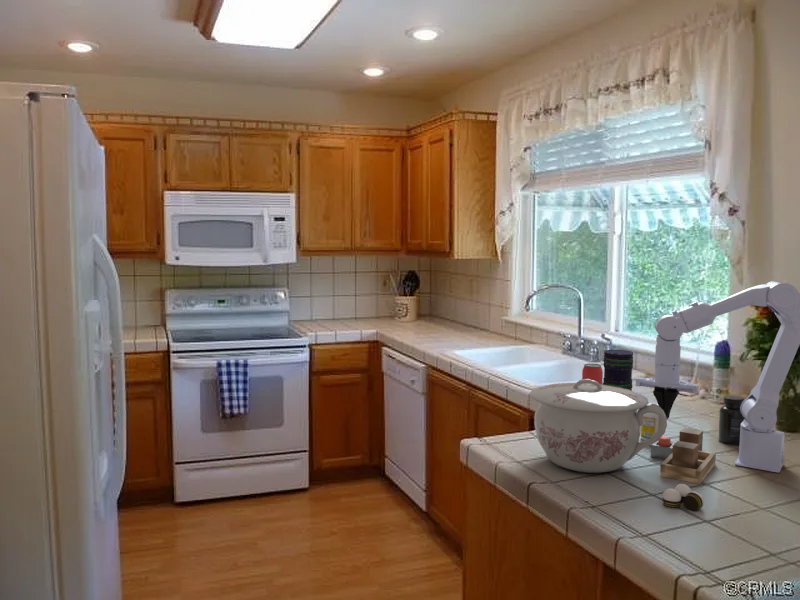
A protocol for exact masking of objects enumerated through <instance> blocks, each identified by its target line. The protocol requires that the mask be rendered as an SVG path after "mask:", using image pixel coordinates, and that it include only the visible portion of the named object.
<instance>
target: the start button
mask: <svg viewBox="0 0 800 600" xmlns="http://www.w3.org/2000/svg"><path fill="white" fill-rule="evenodd" d="M670 442H671V438H670V437H668V436H662V437H660V438H659V440H658V445H661V446H666V447H670Z"/></svg>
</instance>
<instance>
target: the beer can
mask: <svg viewBox="0 0 800 600" xmlns="http://www.w3.org/2000/svg"><path fill="white" fill-rule="evenodd" d="M581 372H582V373H581V377H582V378H581V380H582V379H590V380H594V381H596V382H598V383H599V384H603V378H604V370H603V368H602V365H601V364H599V363H593V362H592V363H585V364H583V367H582V371H581Z"/></svg>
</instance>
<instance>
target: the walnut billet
mask: <svg viewBox="0 0 800 600" xmlns="http://www.w3.org/2000/svg"><path fill="white" fill-rule="evenodd" d="M674 443H675V444H674V445H673V454H672V465H675V466H681V467H686V468H691V469H696V470H697V467H698V444H694V443H688V442H682V441H679V440H677V441H676V442H674Z"/></svg>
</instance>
